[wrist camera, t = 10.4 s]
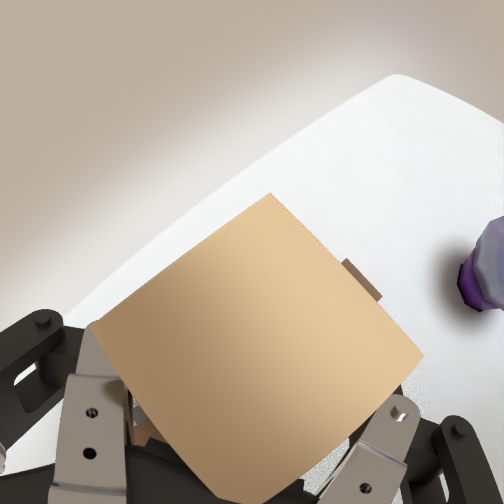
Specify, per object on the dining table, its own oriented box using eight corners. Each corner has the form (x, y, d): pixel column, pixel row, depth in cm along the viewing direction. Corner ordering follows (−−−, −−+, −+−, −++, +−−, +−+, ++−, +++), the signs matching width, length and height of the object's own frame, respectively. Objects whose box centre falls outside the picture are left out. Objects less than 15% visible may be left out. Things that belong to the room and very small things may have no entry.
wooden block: (260, 311, 17) (270, 192, 6) (316, 375, 15) (424, 356, 5) (193, 364, 15) (89, 326, 5) (249, 430, 14) (238, 518, 4)
